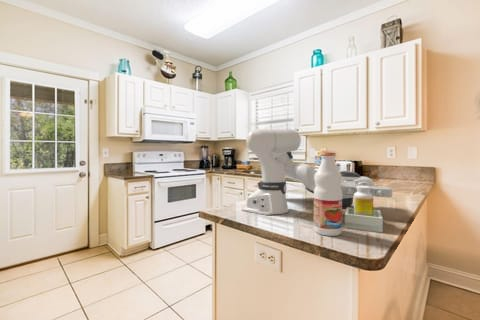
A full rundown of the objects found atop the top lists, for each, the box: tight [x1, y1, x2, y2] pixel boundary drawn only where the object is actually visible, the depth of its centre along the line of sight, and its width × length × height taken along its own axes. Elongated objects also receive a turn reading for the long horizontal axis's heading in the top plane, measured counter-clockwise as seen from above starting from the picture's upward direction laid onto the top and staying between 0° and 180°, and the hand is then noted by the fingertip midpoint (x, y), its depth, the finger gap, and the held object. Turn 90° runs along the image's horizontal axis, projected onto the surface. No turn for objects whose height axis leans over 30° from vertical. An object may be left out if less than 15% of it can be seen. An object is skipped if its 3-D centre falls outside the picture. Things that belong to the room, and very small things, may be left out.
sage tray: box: [344, 207, 384, 233], centre depth 89 cm, size 12×12×5 cm
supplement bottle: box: [353, 186, 374, 217], centre depth 89 cm, size 7×7×13 cm
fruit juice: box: [313, 152, 343, 237], centre depth 82 cm, size 9×9×28 cm
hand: (364, 193), depth 95 cm, fingers open, 8 cm apart
